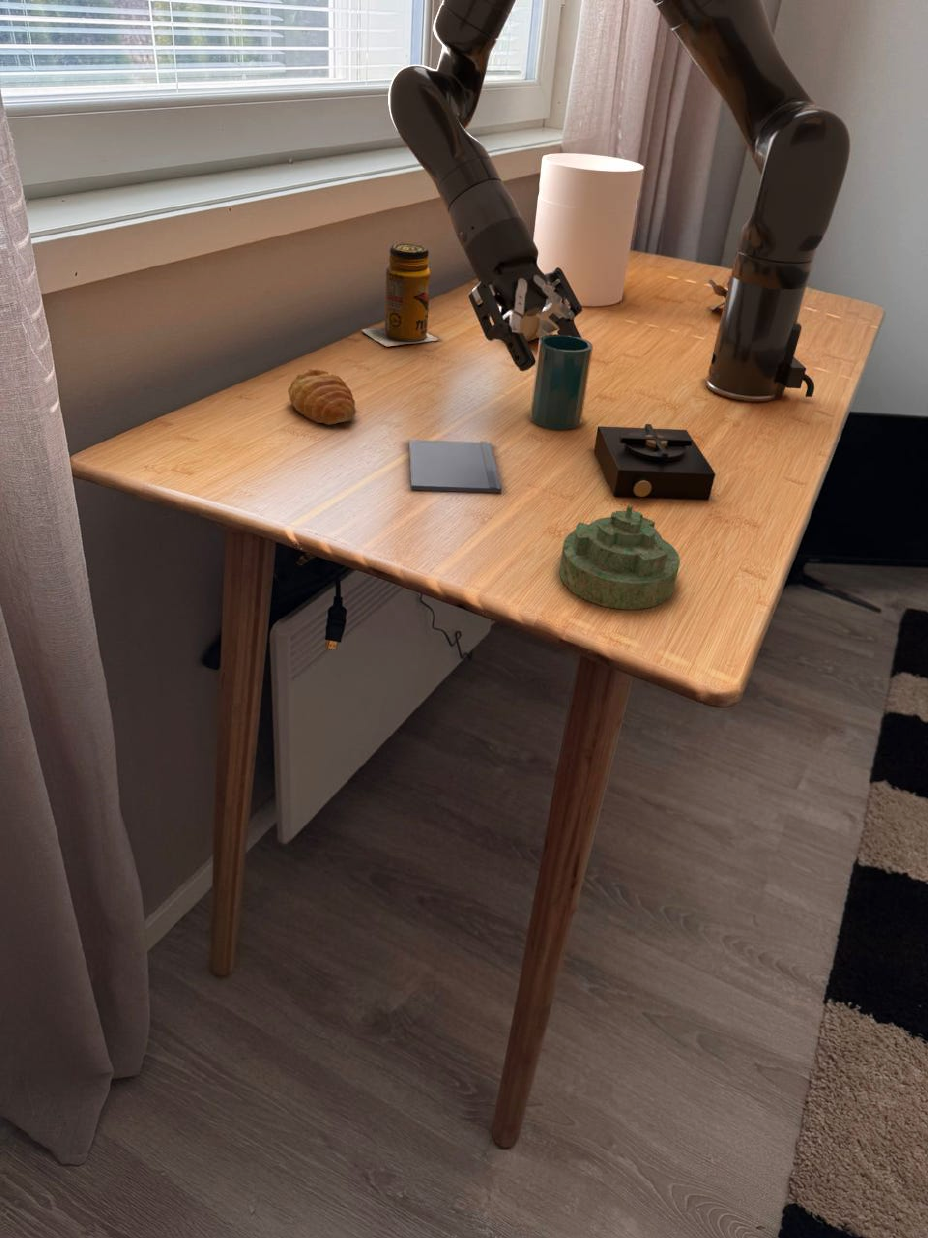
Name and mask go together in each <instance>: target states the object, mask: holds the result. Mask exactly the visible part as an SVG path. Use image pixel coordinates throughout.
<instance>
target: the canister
mask: <svg viewBox="0 0 928 1238" xmlns="http://www.w3.org/2000/svg"><path fill="white" fill-rule="evenodd" d="M540 168H541V169H540V175H539V185H538V187H539V192H538V196H537V203H536V213H535V220H534V221H535V222H534V230H533V231H534V232H533V238H532V239H533V241H534V243H535V245H536V247H537V249H538V258H537V265H538V267H539V269H540V270H541V271H542V272H543V273H544V274H547V273H550V272H552V271H553V270H554V269H555V268H557V267H559V268H560V269H561V270H562V271H563V273H564V275H565V277H566V279H567V281H568V282H569V284H570V286H571V288H572V290H573V292H574V294H575V296H576V297H577V299H578V301H579V303H580V305H581V307H605V306H611V305H615V304H618V303H620V302H621V301H622V300H623V294H624V288H625V282H626V275H627V269H628V265H629V264H628V263H629V258H630V253H631V246H632V241H633V234H634V227H635V222H636V217H637V211H638V200H639V198H640V194H641V193H640V191H641V186H642V180H643V175H644V169H645V168H644V165H642V164H641V163H638V162H635V161H633V160H629V159H625V158H618V157H613V156H607V155H599V154H589V153H576V152H575V153H573V152H570V153H569V152H567V153H565V152H561V153H560V152H559V153H549V154H545V155H543V157H542V159H541V166H540ZM567 302H568V301H567ZM568 306H570V305H569V303H568Z"/></svg>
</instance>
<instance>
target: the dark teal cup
mask: <svg viewBox="0 0 928 1238" xmlns="http://www.w3.org/2000/svg"><path fill="white" fill-rule="evenodd" d="M593 348H594V346H593V344H592V343H591V341H588V340H587V339H586V338H582V337H581V338H579V337H576V336H570V335H558V334H550V335H547V336H544V337H542V338H541V339H539V340H538V346H537V355H536V363H535V371H534V380H533V387H532V388H533V389H532V396H531V405H530V417H529V419H530V420H531V422H532V423H533V424H535V425H537V426H539V427H541V428H545V429H548V430H554V431H567V430H568V431H569V430H573V429H576V428H578V427H580V425H581V424H582V419H583V413H584V406H585V400H586V395H587V394H586V393H587V388H588V382H589V381H588V380H589V375H590V368H591V362H592V356H593V351H594V349H593Z"/></svg>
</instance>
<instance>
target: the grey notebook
mask: <svg viewBox="0 0 928 1238" xmlns="http://www.w3.org/2000/svg"><path fill="white" fill-rule="evenodd" d="M408 457H409V458H408V459H409V475H410V490H411V491H426V492H427V491H429V492H430V491H431V492H457V493H459V492H461V493H485V494H486V493H487V494H488V493H489V494H490V493H491V494H501V493H502V487H501V482H500V477H499V473H498V468H497V464H496V460H495V454H494V451H493V446H492V443H491V442H487V441H480V442H471V441H470V442H468V441H449V440H448V441H443V440H421V439H408Z"/></svg>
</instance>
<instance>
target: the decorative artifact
mask: <svg viewBox="0 0 928 1238" xmlns="http://www.w3.org/2000/svg"><path fill="white" fill-rule="evenodd" d="M633 508H634V506H633V505H631V504H628V505H627V506H626V510H615V511H612V512H611V515H610V516H607V517H601V518H598V519H595V520H593V521H591V522H590V523H584V522H580V521H579V522H578V523H577V525H576V529H574V530H573V531H571V532H569V533H568V534H567V536H566V537H565V538H564V540H563V543H562V549H561V557H560V563H559V570H558V573H559V577H560V580H561V582H562V583H563V584H564V586H565V587H566V588H567V589H568V590H569V591H571V593H573V594H574V595H576V596H578V597H579V598H581V599H583V600H585V601H587V602H589V603H593V604H594V605H598V606H602V607H607V608H609V609H610V608H611V609H617V610H628V611H629V610H630V611H631V610H632V611H633V610H644V609H650V608H653V607H656V606H659V605H661V604H663V603H664V602H666V601H667V600H669V598H670V597H671V596H672V594H673V592H674V589H675V585H676V581H677V576H678V572H679V568H680V565H681V564H680V563H681V560H680V555H679V553H678V552H677V550H676V548H674V547H673V545H671V544H670V543H669V542H668V541H667V540H665V539H663V536H662V534H661V533H660V532H659V531H658V530H657V528H655V525H656V522H655V521H653V520H651V519H649V518H646V517H644V515H643V514H642V513H641V512H639V511H637V510H634V511H633Z"/></svg>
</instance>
